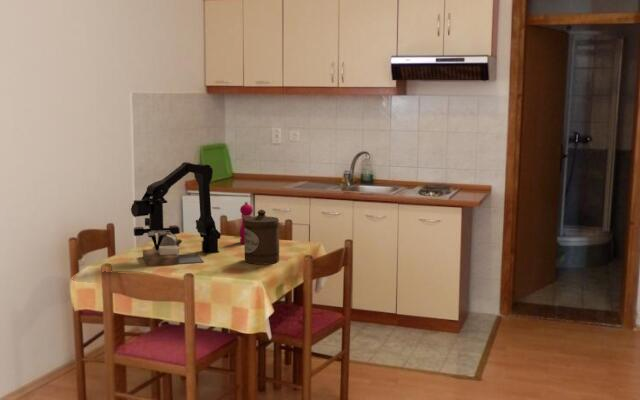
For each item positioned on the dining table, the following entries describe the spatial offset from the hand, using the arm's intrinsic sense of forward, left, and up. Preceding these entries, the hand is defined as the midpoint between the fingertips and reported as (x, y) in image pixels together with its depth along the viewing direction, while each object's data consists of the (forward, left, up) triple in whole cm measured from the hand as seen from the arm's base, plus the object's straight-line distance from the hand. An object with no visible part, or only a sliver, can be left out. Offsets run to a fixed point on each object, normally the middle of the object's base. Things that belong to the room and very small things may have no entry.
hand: (157, 250), depth 313 cm
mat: (-13, +1, -4) cm, 14 cm away
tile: (-5, 0, -1) cm, 5 cm away
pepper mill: (-45, -27, -5) cm, 52 cm away
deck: (-1, 0, -4) cm, 5 cm away
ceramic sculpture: (-8, -26, -5) cm, 28 cm away
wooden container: (-43, +12, -5) cm, 45 cm away
